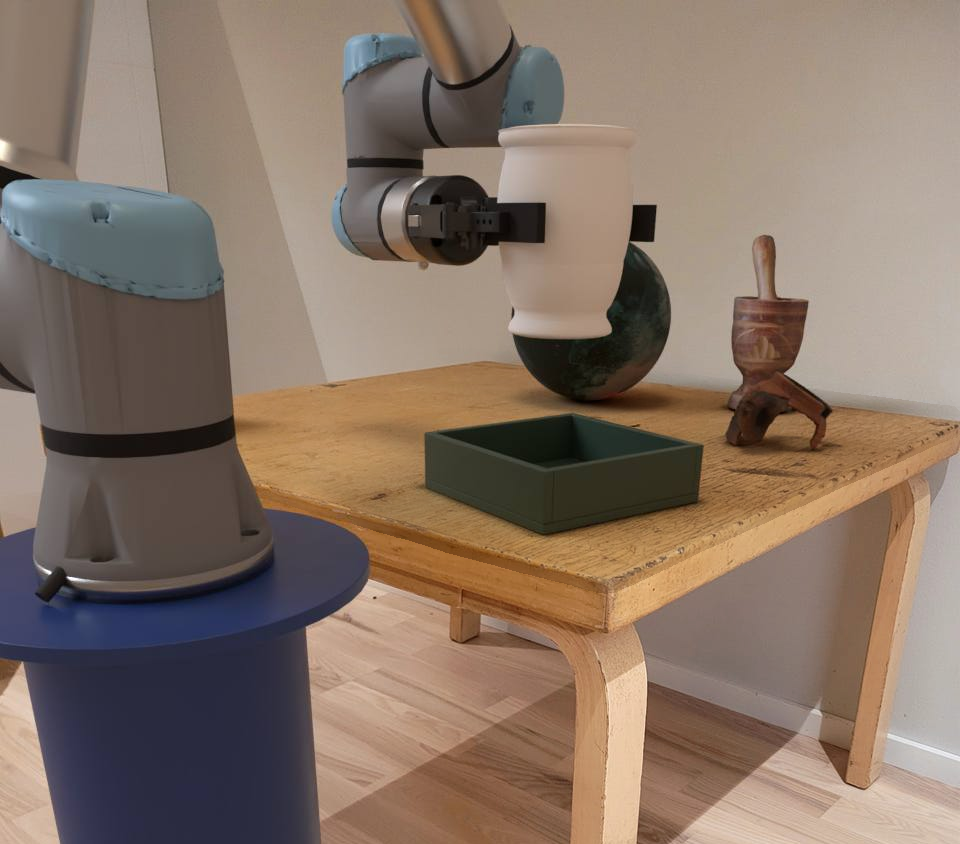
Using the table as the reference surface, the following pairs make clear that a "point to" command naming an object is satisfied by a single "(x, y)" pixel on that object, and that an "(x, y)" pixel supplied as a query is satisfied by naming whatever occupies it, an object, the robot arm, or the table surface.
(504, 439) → the bin
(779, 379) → the brown arched piece
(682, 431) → the table surface
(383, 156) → the robot arm
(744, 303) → the mortar and pestle
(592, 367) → the decorative sphere
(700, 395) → the table surface
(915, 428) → the table surface
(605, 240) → the jar
